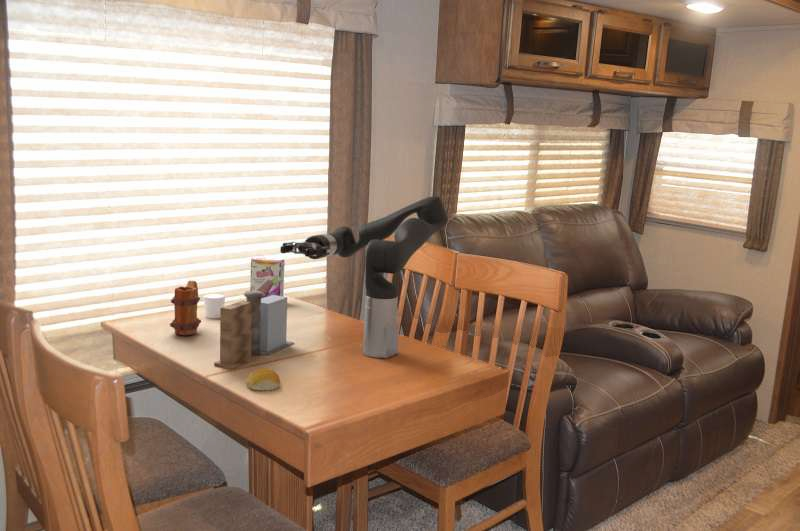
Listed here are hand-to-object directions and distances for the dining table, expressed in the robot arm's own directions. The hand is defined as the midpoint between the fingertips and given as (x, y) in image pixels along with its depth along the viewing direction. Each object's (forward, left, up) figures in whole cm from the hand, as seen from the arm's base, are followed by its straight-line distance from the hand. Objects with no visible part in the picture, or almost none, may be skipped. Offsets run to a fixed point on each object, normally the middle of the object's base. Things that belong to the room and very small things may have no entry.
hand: (293, 251), depth 227 cm
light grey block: (-3, +13, -26) cm, 29 cm away
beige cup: (+34, 0, -27) cm, 43 cm away
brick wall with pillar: (-6, +27, -26) cm, 38 cm away
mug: (+26, +18, -27) cm, 41 cm away
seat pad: (-3, +13, -26) cm, 30 cm away
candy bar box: (+34, -25, -27) cm, 49 cm away
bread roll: (-24, +38, -27) cm, 52 cm away
